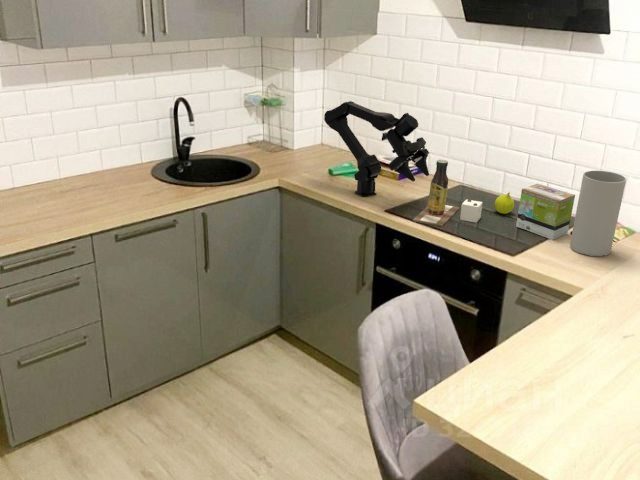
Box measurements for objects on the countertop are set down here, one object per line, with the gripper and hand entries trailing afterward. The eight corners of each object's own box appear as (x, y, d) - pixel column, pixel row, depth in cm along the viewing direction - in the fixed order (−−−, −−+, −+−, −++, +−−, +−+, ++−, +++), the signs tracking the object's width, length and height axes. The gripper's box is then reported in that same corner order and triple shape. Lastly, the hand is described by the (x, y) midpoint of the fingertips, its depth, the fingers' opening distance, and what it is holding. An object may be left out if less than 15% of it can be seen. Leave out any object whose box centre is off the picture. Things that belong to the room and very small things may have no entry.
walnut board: (431, 203, 247) (431, 202, 247) (459, 209, 242) (459, 207, 242) (412, 221, 230) (412, 219, 230) (442, 226, 225) (442, 224, 225)
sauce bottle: (423, 211, 237) (428, 159, 229) (436, 208, 240) (441, 157, 232) (436, 217, 232) (441, 164, 224) (448, 213, 235) (454, 161, 227)
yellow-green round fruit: (508, 218, 235) (512, 192, 231) (490, 213, 239) (493, 188, 235) (515, 212, 240) (519, 187, 236) (498, 208, 244) (501, 183, 240)
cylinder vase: (574, 255, 205) (588, 181, 195) (565, 240, 216) (579, 169, 206) (615, 258, 203) (631, 183, 193) (604, 243, 215) (619, 171, 205)
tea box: (514, 227, 226) (520, 187, 220) (530, 221, 232) (537, 182, 226) (552, 241, 216) (560, 199, 210) (568, 234, 222) (576, 193, 216)
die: (464, 214, 237) (466, 197, 234) (480, 217, 235) (482, 200, 232) (460, 219, 232) (462, 202, 230) (476, 222, 230) (478, 205, 227)
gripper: (397, 135, 226) (421, 172, 224) (427, 127, 239) (449, 161, 237) (378, 152, 234) (401, 188, 232) (408, 143, 247) (429, 177, 245)
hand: (421, 178), depth 236 cm, fingers open, 9 cm apart
